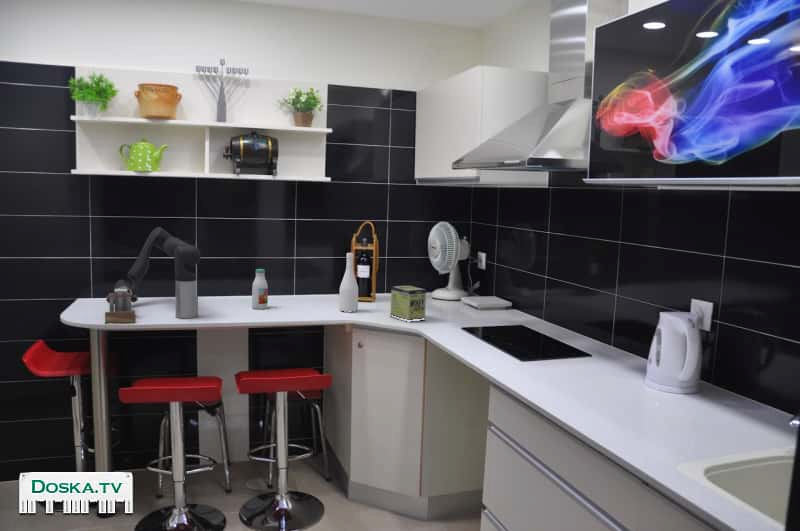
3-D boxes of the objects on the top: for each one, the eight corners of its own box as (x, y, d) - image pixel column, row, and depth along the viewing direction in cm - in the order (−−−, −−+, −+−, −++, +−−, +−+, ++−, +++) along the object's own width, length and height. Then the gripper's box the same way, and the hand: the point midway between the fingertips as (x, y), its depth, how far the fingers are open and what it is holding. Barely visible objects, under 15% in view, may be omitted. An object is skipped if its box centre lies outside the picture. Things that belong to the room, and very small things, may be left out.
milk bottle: (252, 309, 330) (252, 270, 328) (251, 306, 338) (252, 268, 335) (268, 309, 333) (268, 270, 330) (266, 306, 340) (267, 268, 338)
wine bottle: (354, 313, 331) (356, 254, 327) (336, 312, 332) (338, 253, 329) (359, 310, 340) (361, 252, 336) (342, 308, 342) (343, 251, 338)
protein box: (408, 322, 313) (409, 290, 311) (389, 317, 326) (390, 286, 324) (425, 321, 319) (427, 289, 318) (406, 315, 332) (407, 284, 330)
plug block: (115, 315, 298) (115, 288, 296) (127, 314, 300) (127, 288, 298) (114, 317, 293) (114, 290, 292) (127, 317, 295) (126, 290, 293)
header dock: (108, 316, 301) (107, 289, 299) (136, 315, 305) (136, 288, 303) (105, 323, 286) (104, 295, 284) (134, 323, 290) (134, 294, 288)
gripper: (106, 287, 306) (103, 293, 290) (139, 287, 311) (137, 293, 295) (106, 303, 307) (103, 310, 291) (139, 302, 312) (138, 309, 296)
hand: (120, 301), depth 293 cm, fingers closed on plug block, 5 cm apart
